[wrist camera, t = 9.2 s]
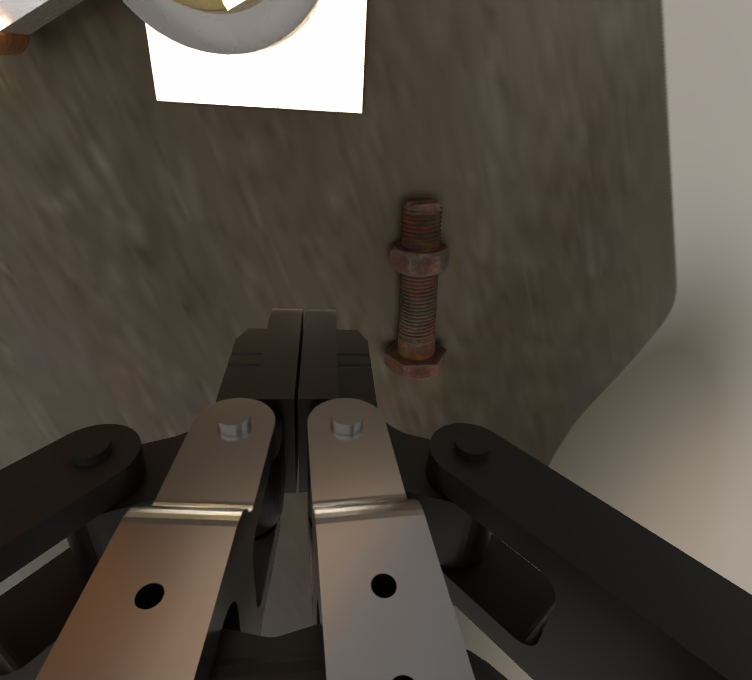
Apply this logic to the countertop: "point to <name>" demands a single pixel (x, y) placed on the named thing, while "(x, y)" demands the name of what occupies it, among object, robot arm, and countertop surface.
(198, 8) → the yellow disc with lever
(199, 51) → the cap housing
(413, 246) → the bolt
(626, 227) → the countertop surface
